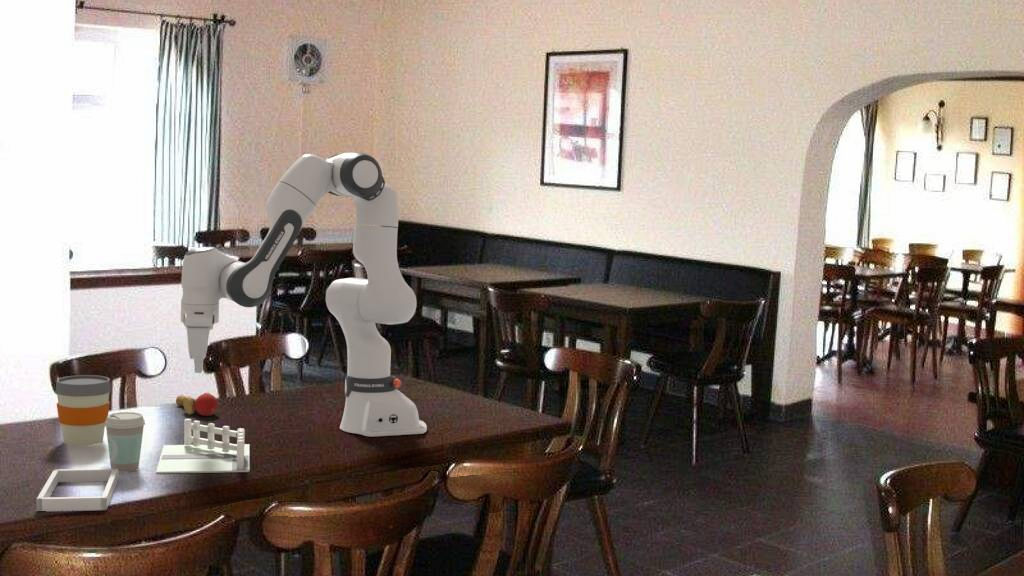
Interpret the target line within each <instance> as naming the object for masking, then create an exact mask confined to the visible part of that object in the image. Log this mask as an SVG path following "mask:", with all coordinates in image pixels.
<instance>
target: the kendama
mask: <svg viewBox="0 0 1024 576" xmlns="http://www.w3.org/2000/svg"><path fill="white" fill-rule="evenodd" d="M175 403H176V405H177V406H179V407H183V409H184V411H185V413H186V414H188V415H194V414H195V412H197V414H199V415H200V416H202V417H211V416H212V415H214V414H215V413H216V412H217V411H218V407H219V402H218V399H217V398H216V397H215V396H214V395H213V394H211V393H210V392H204V393H203V394H200V395H198V397H196V398H193V397H191V396H186V395H183V394H180V395H178V396H176V399H175Z"/></svg>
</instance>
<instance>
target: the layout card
mask: <svg viewBox="0 0 1024 576" xmlns="http://www.w3.org/2000/svg"><path fill="white" fill-rule="evenodd" d="M235 444H236V445H237V443H235ZM207 448H208V446H207V445H202V444H200V446H198V447H195V446H193V444H191V445H184V444H163V446H162V450H161V453H160V457H159V461H158V464H157V467H156V471H155V474H160V475H161V474H203V473H204V474H206V473H207V474H209V473H211V474H213V473H215V474H216V473H219V474H220V473H250V443H248V444H247V443H244V469H242V470H238V469H237V451H234V450H229V452H222V448H218V447H214V449H212V450H211V449H207Z"/></svg>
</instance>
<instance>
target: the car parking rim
mask: <svg viewBox="0 0 1024 576" xmlns="http://www.w3.org/2000/svg"><path fill="white" fill-rule="evenodd" d="M118 481H119V472H118V468H113V469H111V468H71V469H70V468H67V469H66V468H59V469H56V468H55V469H53V470H52V473H51V474H50V475H49V477H48V479H47V480H46V482H45V484H44V485H43V487H42V489H41V491H40V492H39V494H38V496H37V497H36V507H35V508H36V510H35V511H46V512H76V511H77V512H78V511H79V512H83V511H87V512H88V511H107V510H108V507H109V505H110V502H111V499H112V497H113V494H114V491H115V489H116V486H117V483H118ZM77 482H78V483H81V482H107V483H106V486H105V488H104V490H103V493H102V495H101V496H99V495H97V496H59V497H58V496H57V497H55V496H52V494H53V493H54V491H55V489H56V487H57V485H58V483H77ZM52 492H53V493H52ZM62 510H63V511H62ZM67 510H68V511H67ZM72 510H73V511H72Z"/></svg>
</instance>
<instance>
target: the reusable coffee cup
mask: <svg viewBox="0 0 1024 576" xmlns="http://www.w3.org/2000/svg"><path fill="white" fill-rule="evenodd" d="M110 379H111V378H109V377H107V376H104V375H103V376H102V375H96V374H95V375H92V374H91V375H90V374H81V375H80V374H79V375H70V376H69V375H68V376H63V377H58V378H57V379H56V382H55V383H56V384H55V394H56V396H57V402H56V409H57V416H58V423H59V424H60V425H61V433H62V439H63V441H62V442H63V444H64V445H68V446H74V447H83V446H85V447H86V446H93V445H94V446H95V445H97V444H101V443H103V442H104V436H105V430H106V428H105V427H106V426H105V421H106V419H107V416H108V415H109V411H110V403H111V402H110V401H109V398H110V397H109V396H110V393H111V392H112V387H111V380H110Z"/></svg>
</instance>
